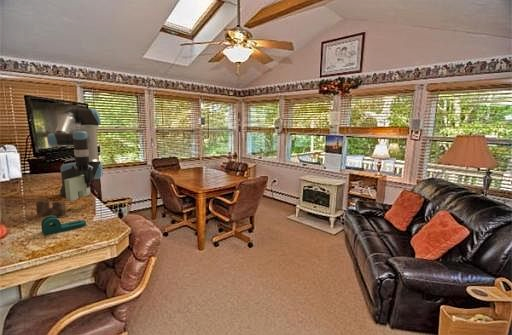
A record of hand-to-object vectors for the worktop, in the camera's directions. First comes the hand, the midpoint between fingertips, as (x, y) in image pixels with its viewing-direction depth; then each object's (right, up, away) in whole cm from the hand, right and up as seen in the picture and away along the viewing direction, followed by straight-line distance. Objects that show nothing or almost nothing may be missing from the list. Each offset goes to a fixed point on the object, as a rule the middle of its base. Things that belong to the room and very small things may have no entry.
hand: (84, 192), depth 169 cm
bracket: (+13, -16, -35) cm, 40 cm away
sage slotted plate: (-1, -3, -5) cm, 5 cm away
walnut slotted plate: (-9, -12, -16) cm, 22 cm away
